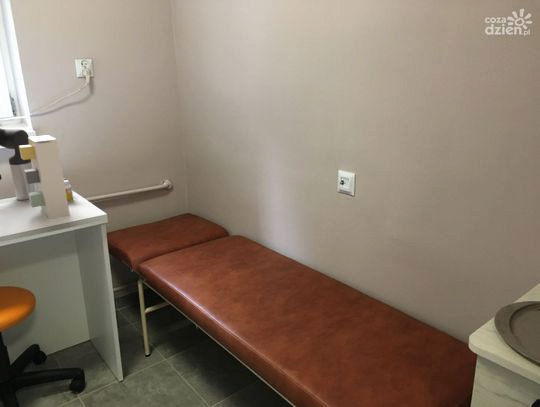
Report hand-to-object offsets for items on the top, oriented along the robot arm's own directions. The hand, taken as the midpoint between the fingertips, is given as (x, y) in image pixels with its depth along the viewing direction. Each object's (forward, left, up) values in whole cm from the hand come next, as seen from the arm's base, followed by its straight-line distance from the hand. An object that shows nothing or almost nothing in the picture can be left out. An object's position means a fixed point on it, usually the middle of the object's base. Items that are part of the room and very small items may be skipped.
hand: (1, 176), depth 175 cm
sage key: (0, +12, -14) cm, 18 cm away
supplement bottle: (-15, +25, -19) cm, 35 cm away
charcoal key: (0, +12, -4) cm, 12 cm away
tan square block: (0, +12, +6) cm, 13 cm away
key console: (0, +17, -18) cm, 25 cm away
